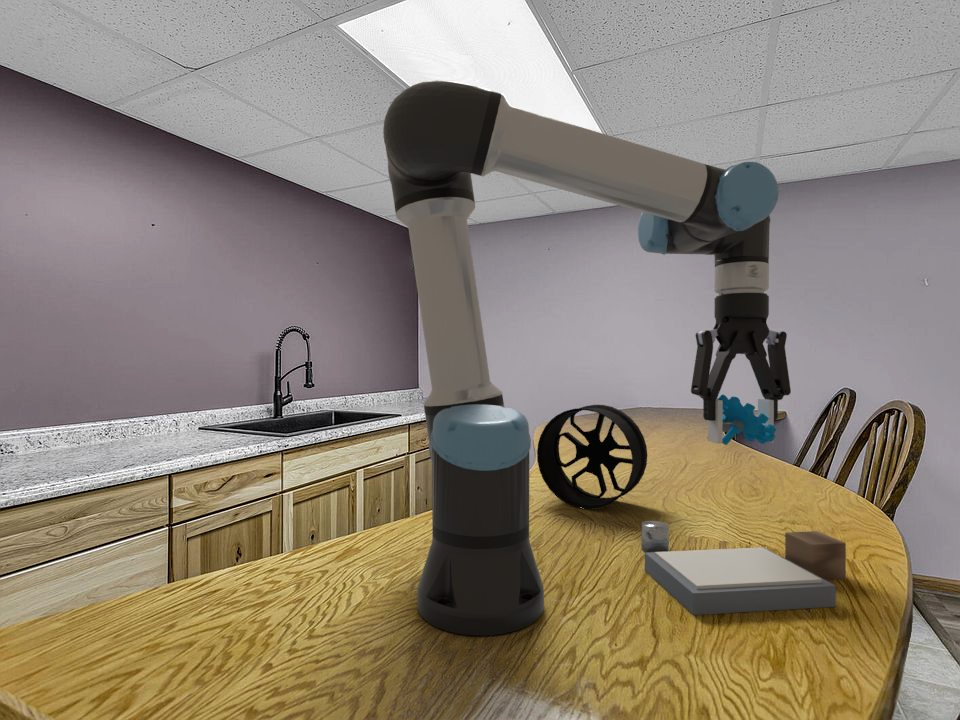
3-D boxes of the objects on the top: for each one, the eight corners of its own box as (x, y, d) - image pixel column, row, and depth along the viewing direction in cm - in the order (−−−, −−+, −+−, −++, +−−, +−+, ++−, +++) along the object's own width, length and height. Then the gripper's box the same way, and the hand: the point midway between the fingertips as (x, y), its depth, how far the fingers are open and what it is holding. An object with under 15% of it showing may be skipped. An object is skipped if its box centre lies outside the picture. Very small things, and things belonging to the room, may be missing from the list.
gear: (793, 437, 76) (745, 388, 76) (770, 467, 75) (720, 418, 75) (743, 437, 87) (701, 394, 87) (722, 463, 86) (679, 420, 85)
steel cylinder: (648, 555, 79) (648, 529, 79) (637, 546, 83) (637, 521, 83) (673, 554, 80) (673, 528, 80) (661, 545, 84) (661, 520, 84)
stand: (693, 615, 61) (693, 589, 61) (644, 570, 74) (644, 549, 74) (835, 606, 63) (835, 582, 63) (764, 564, 76) (764, 544, 76)
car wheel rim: (647, 505, 107) (647, 406, 107) (632, 517, 99) (632, 410, 99) (556, 491, 118) (556, 402, 118) (536, 502, 109) (536, 405, 109)
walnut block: (811, 582, 70) (811, 544, 70) (785, 567, 75) (785, 532, 75) (845, 580, 71) (845, 543, 71) (817, 566, 76) (817, 531, 76)
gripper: (691, 288, 76) (690, 446, 76) (820, 292, 79) (819, 444, 79) (666, 295, 84) (665, 438, 84) (785, 298, 86) (784, 437, 86)
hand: (740, 441), depth 81 cm, fingers closed on gear, 8 cm apart
